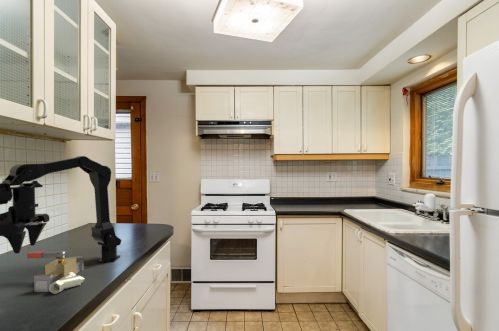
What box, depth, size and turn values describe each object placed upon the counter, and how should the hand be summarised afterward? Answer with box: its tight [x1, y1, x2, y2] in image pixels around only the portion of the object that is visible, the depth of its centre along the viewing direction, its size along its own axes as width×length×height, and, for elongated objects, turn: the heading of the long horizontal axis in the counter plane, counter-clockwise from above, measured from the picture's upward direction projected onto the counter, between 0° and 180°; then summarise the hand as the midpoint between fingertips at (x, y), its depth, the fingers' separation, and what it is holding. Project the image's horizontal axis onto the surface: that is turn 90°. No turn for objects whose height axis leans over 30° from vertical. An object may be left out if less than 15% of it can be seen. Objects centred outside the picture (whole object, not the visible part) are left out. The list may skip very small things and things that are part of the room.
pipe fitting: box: [49, 272, 85, 295], centre depth 87 cm, size 8×4×7 cm
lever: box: [26, 249, 68, 260], centre depth 93 cm, size 13×3×2 cm, turn 91°
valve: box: [33, 256, 85, 293], centre depth 93 cm, size 18×6×8 cm, turn 1°
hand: (25, 249), depth 88 cm, fingers open, 8 cm apart
